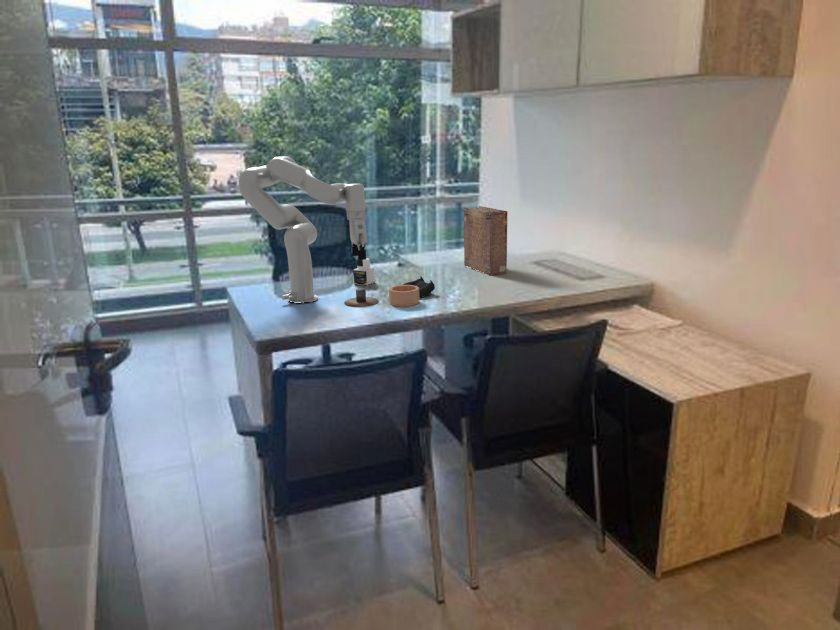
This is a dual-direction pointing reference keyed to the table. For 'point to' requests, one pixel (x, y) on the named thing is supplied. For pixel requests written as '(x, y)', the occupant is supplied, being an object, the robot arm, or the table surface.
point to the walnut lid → (361, 299)
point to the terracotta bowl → (404, 295)
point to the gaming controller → (422, 286)
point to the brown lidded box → (485, 239)
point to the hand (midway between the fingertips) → (359, 257)
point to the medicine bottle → (363, 273)
